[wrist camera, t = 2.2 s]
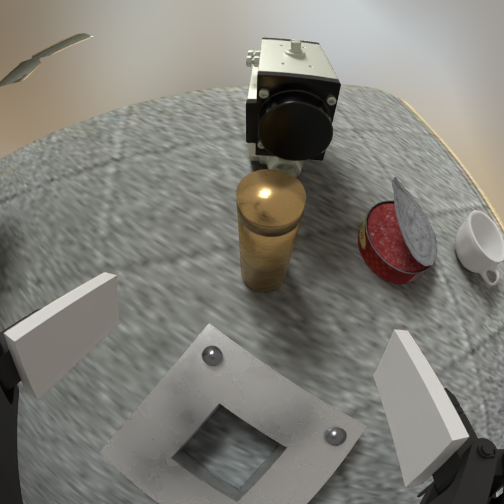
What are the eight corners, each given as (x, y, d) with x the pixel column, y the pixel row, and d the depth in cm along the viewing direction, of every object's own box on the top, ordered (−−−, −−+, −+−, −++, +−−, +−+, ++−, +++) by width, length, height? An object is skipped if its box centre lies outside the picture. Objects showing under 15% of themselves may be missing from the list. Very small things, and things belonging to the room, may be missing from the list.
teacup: (440, 233, 31) (460, 210, 26) (471, 231, 32) (490, 210, 27) (464, 299, 26) (490, 282, 22) (494, 290, 27) (517, 273, 22)
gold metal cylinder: (231, 275, 28) (221, 198, 18) (258, 244, 30) (262, 160, 19) (269, 301, 27) (282, 233, 16) (294, 267, 29) (318, 188, 18)
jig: (116, 446, 19) (96, 452, 15) (214, 332, 25) (208, 321, 21) (250, 539, 14) (250, 558, 10) (352, 423, 20) (369, 426, 17)
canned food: (369, 232, 37) (404, 174, 31) (419, 279, 32) (462, 222, 26) (328, 246, 29) (373, 167, 23) (394, 310, 24) (456, 234, 19)
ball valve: (251, 124, 41) (252, 22, 26) (303, 127, 41) (318, 28, 25) (242, 209, 32) (238, 65, 17) (313, 213, 32) (350, 76, 17)
